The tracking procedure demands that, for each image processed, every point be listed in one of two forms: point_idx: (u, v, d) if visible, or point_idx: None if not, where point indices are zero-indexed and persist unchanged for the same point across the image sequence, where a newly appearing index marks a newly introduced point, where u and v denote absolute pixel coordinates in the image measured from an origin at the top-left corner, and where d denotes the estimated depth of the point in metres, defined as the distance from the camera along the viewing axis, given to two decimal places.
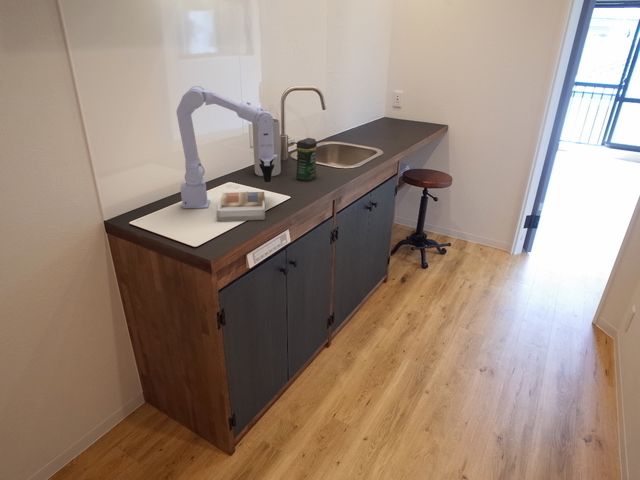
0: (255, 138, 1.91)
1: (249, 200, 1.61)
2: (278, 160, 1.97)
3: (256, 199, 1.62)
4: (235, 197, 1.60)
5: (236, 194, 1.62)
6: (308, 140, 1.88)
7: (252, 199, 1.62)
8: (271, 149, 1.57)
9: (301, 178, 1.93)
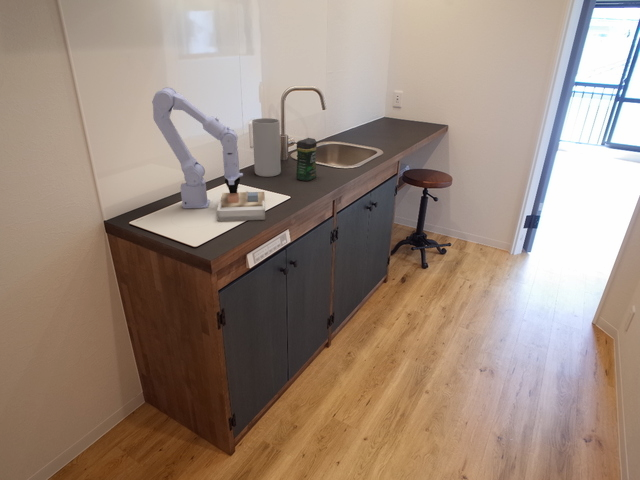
0: (255, 138, 1.91)
1: (249, 200, 1.61)
2: (278, 160, 1.97)
3: (256, 199, 1.62)
4: (235, 197, 1.60)
5: (236, 194, 1.61)
6: (308, 140, 1.88)
7: (252, 199, 1.62)
8: (236, 168, 1.58)
9: (301, 178, 1.93)
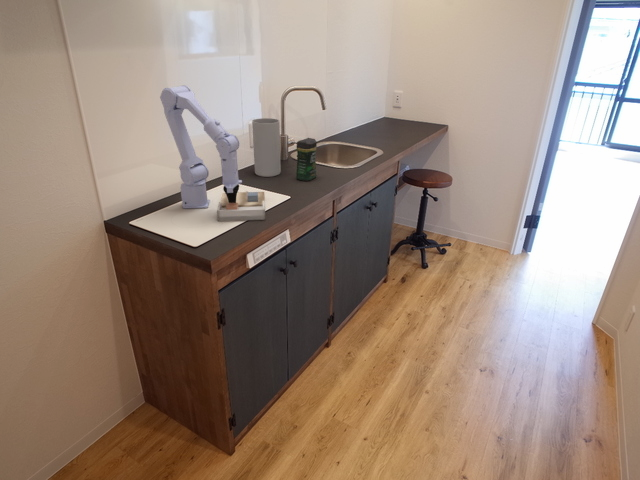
0: (255, 138, 1.91)
1: (249, 200, 1.61)
2: (278, 160, 1.97)
3: (256, 199, 1.62)
4: (234, 208, 1.53)
5: (235, 204, 1.54)
6: (308, 140, 1.88)
7: (252, 199, 1.62)
8: (235, 175, 1.50)
9: (301, 178, 1.93)
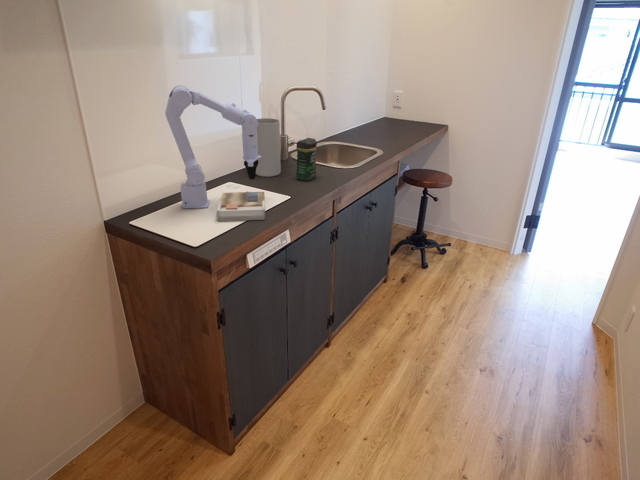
0: None
1: (249, 200, 1.61)
2: (278, 160, 1.97)
3: (256, 199, 1.62)
4: (234, 209, 1.52)
5: (235, 206, 1.53)
6: (308, 140, 1.88)
7: (252, 199, 1.62)
8: (255, 150, 1.61)
9: (301, 178, 1.93)
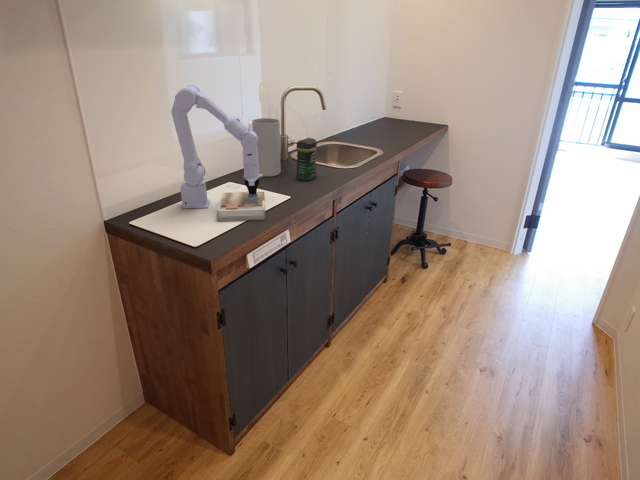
0: None
1: (249, 202, 1.60)
2: (278, 160, 1.97)
3: (256, 201, 1.60)
4: (234, 209, 1.52)
5: (235, 206, 1.53)
6: (308, 140, 1.88)
7: (252, 201, 1.60)
8: (256, 169, 1.57)
9: (301, 178, 1.93)
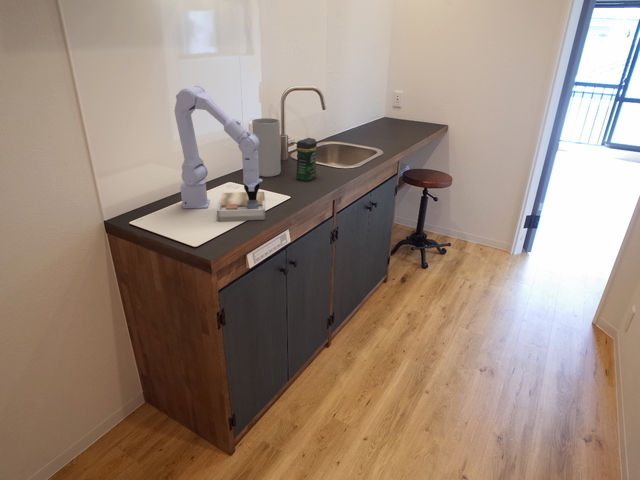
0: None
1: None
2: (278, 160, 1.97)
3: None
4: (234, 209, 1.52)
5: (235, 206, 1.53)
6: (308, 140, 1.88)
7: None
8: (256, 174, 1.52)
9: (301, 178, 1.93)
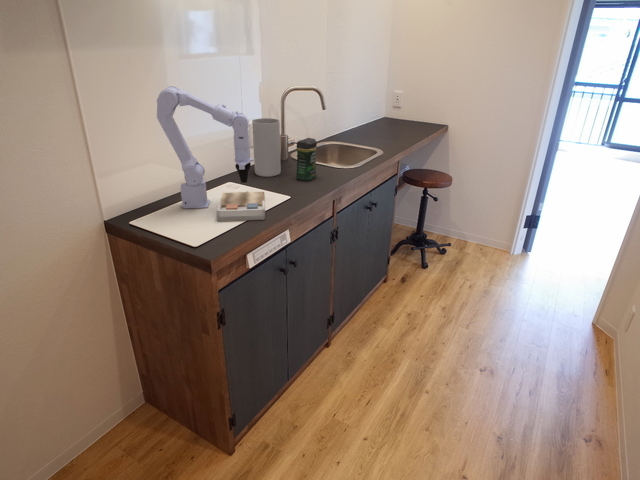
0: (255, 138, 1.91)
1: None
2: (278, 160, 1.97)
3: None
4: (234, 209, 1.52)
5: (235, 206, 1.53)
6: (308, 140, 1.88)
7: None
8: (247, 153, 1.56)
9: (301, 178, 1.93)
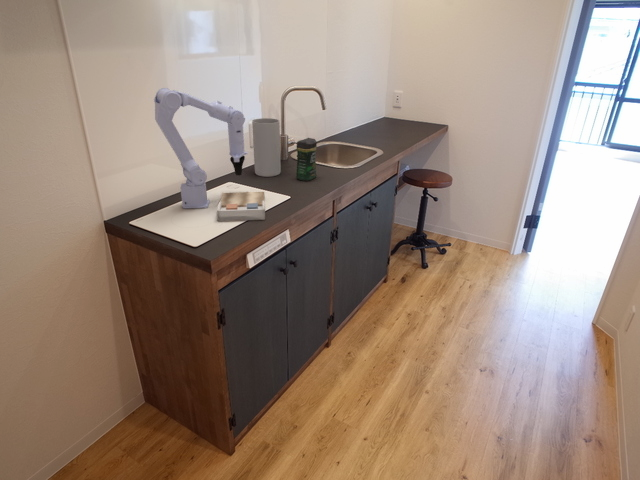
0: (255, 138, 1.91)
1: None
2: (278, 160, 1.97)
3: None
4: (234, 209, 1.52)
5: (235, 206, 1.53)
6: (308, 140, 1.88)
7: None
8: (241, 146, 1.63)
9: (301, 178, 1.93)
